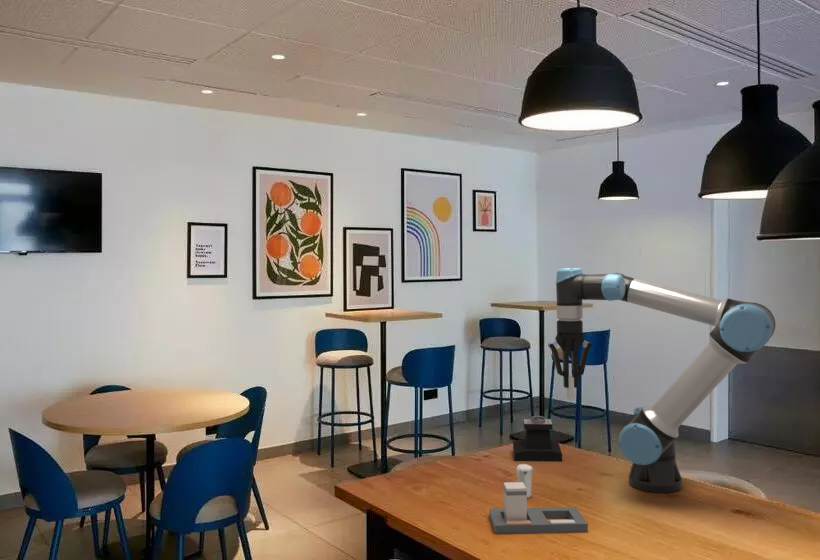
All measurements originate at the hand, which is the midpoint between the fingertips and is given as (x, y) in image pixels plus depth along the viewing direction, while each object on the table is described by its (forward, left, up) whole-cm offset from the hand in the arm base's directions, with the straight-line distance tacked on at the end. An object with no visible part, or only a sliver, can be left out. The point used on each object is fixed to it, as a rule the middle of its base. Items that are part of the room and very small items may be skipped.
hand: (570, 398), depth 205 cm
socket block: (+16, +29, -26) cm, 42 cm away
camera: (+4, -34, -27) cm, 44 cm away
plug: (+22, +29, -26) cm, 45 cm away
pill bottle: (+15, +8, -27) cm, 32 cm away
